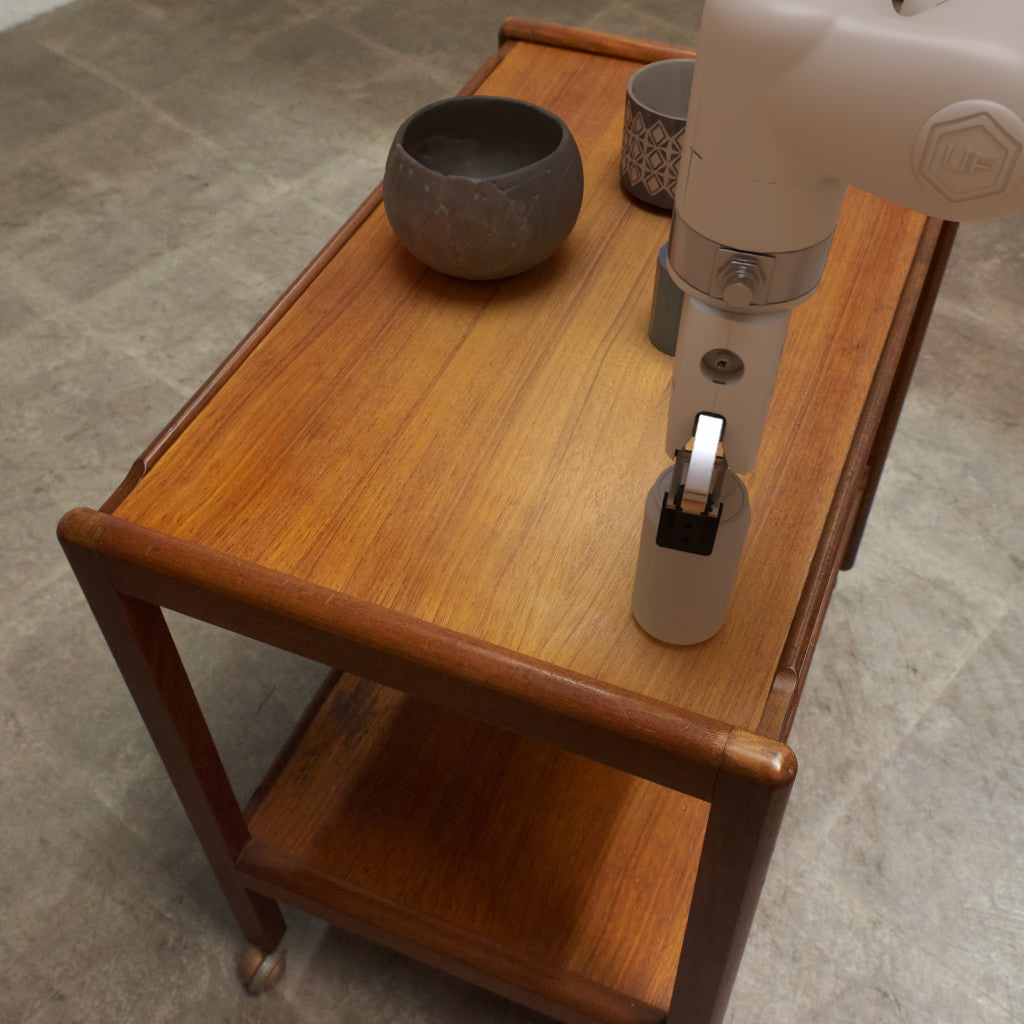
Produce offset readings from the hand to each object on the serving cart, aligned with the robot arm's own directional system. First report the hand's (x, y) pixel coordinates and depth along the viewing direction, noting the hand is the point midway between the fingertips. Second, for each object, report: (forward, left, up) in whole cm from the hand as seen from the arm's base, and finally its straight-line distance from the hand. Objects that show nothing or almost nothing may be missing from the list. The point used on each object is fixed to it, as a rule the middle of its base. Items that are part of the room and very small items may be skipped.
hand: (695, 487), depth 63 cm
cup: (+4, -30, -12) cm, 33 cm away
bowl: (+24, -37, -13) cm, 46 cm away
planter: (+8, -54, -13) cm, 56 cm away
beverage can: (0, 0, -13) cm, 13 cm away
